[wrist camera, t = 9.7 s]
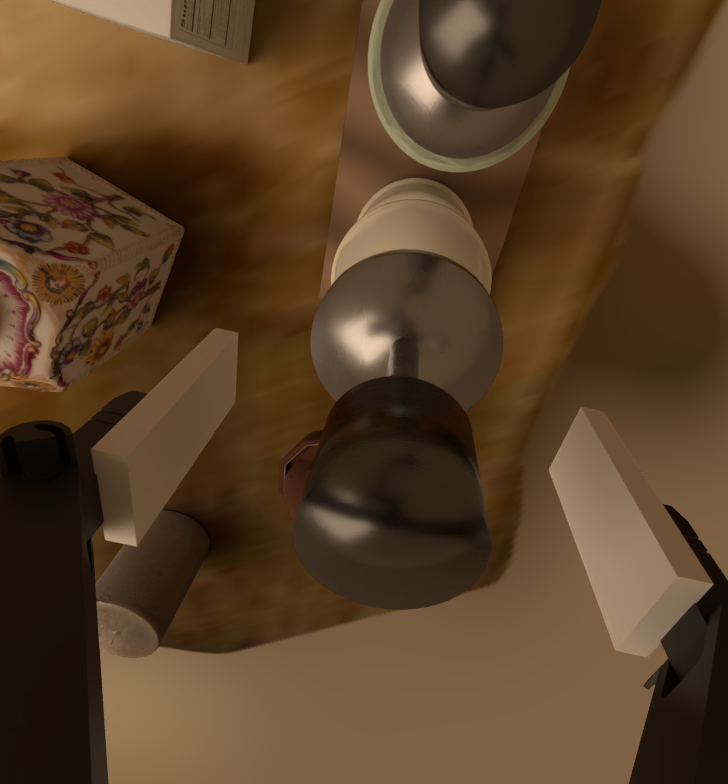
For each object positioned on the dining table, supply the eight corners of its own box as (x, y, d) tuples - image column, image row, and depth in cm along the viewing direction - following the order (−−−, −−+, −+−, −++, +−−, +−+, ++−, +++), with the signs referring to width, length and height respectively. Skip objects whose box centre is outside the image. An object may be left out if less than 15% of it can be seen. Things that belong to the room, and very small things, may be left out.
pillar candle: (223, 555, 62) (170, 666, 49) (163, 565, 65) (98, 673, 52) (187, 502, 58) (120, 608, 45) (125, 516, 61) (44, 619, 48)
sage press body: (497, 172, 34) (529, 192, 24) (371, 144, 34) (349, 152, 24) (560, -31, 28) (639, -122, 18) (408, -65, 28) (400, -175, 18)
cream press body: (366, 165, 35) (343, 180, 25) (489, 192, 35) (518, 219, 25) (341, 307, 41) (314, 368, 30) (447, 330, 41) (455, 399, 30)
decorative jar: (38, 268, 44) (-169, 345, 29) (61, 151, 39) (-181, 167, 23) (154, 331, 46) (19, 434, 31) (192, 228, 41) (50, 291, 25)
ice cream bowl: (300, 460, 52) (260, 569, 40) (304, 375, 47) (260, 470, 34) (392, 475, 52) (382, 589, 39) (407, 391, 46) (402, 492, 33)
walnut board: (374, -57, 30) (371, -67, 28) (583, -10, 30) (592, -17, 28) (322, 292, 42) (318, 299, 41) (470, 325, 42) (472, 333, 41)
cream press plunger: (328, 228, 18) (218, 348, 8) (529, 273, 18) (655, 445, 8) (303, 399, 22) (211, 614, 12) (467, 436, 22) (503, 679, 12)
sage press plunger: (522, 173, 23) (594, 206, 13) (366, 138, 23) (326, 146, 13) (592, -36, 19) (769, -207, 9) (403, -79, 19) (384, -293, 9)
